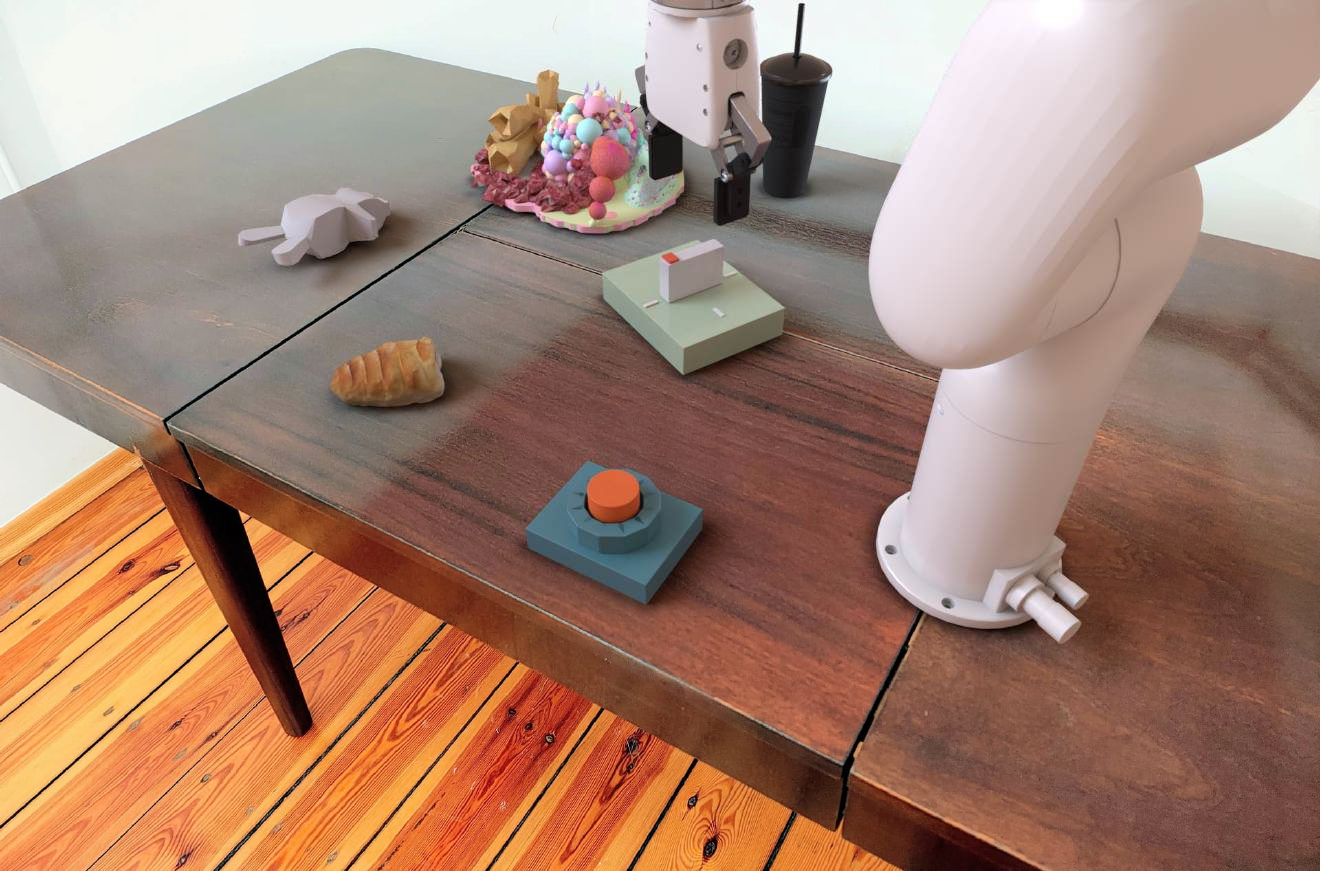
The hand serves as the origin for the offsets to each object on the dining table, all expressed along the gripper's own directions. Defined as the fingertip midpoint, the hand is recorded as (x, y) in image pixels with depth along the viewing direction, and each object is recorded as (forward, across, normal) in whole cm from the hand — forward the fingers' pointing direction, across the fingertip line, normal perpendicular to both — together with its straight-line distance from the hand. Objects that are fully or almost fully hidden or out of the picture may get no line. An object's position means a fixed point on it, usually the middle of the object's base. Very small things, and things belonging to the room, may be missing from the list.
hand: (697, 197), depth 79 cm
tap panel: (+13, +1, 0) cm, 13 cm away
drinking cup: (+12, +16, -23) cm, 31 cm away
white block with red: (+10, +1, 0) cm, 10 cm away
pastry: (+13, +6, +27) cm, 30 cm away
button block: (+13, -19, +20) cm, 31 cm away
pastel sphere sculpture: (+12, +31, -5) cm, 34 cm away
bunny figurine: (+12, +32, +25) cm, 42 cm away
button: (+10, -19, +20) cm, 29 cm away
